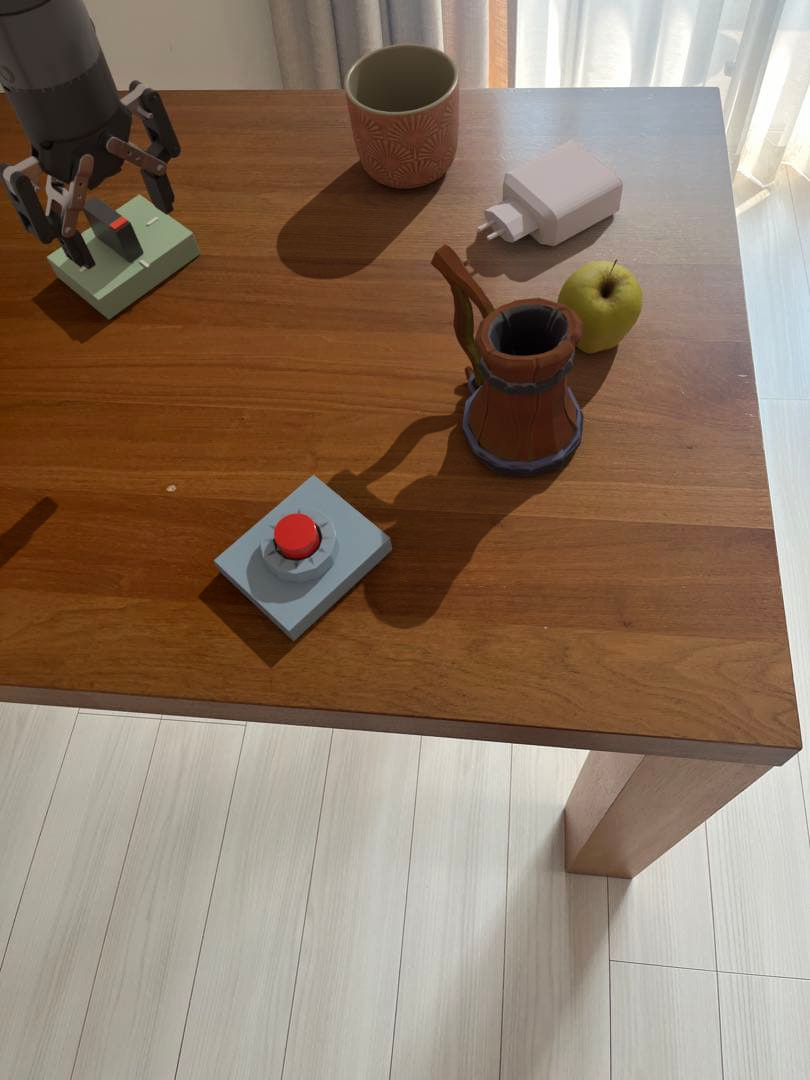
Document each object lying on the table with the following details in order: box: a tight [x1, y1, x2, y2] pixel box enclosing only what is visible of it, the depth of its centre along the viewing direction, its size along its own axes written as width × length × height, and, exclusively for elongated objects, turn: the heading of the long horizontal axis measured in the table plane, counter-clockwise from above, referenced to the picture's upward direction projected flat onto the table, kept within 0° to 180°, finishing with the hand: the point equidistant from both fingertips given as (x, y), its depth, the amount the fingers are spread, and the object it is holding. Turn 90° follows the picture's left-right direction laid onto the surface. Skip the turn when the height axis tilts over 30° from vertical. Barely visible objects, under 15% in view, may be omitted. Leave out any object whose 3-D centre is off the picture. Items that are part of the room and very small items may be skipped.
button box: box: [213, 474, 393, 642], centre depth 77 cm, size 12×10×4 cm
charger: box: [476, 139, 624, 247], centre depth 96 cm, size 5×9×15 cm
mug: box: [430, 244, 585, 478], centre depth 79 cm, size 18×12×15 cm, turn 35°
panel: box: [46, 194, 201, 320], centre depth 98 cm, size 13×11×3 cm
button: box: [274, 513, 319, 559], centre depth 75 cm, size 4×4×2 cm
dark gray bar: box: [82, 195, 144, 263], centre depth 95 cm, size 6×2×4 cm, turn 46°
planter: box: [343, 43, 460, 190], centre depth 99 cm, size 12×12×11 cm
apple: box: [556, 258, 644, 354], centre depth 85 cm, size 8×8×10 cm
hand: (125, 236), depth 76 cm, fingers open, 8 cm apart
